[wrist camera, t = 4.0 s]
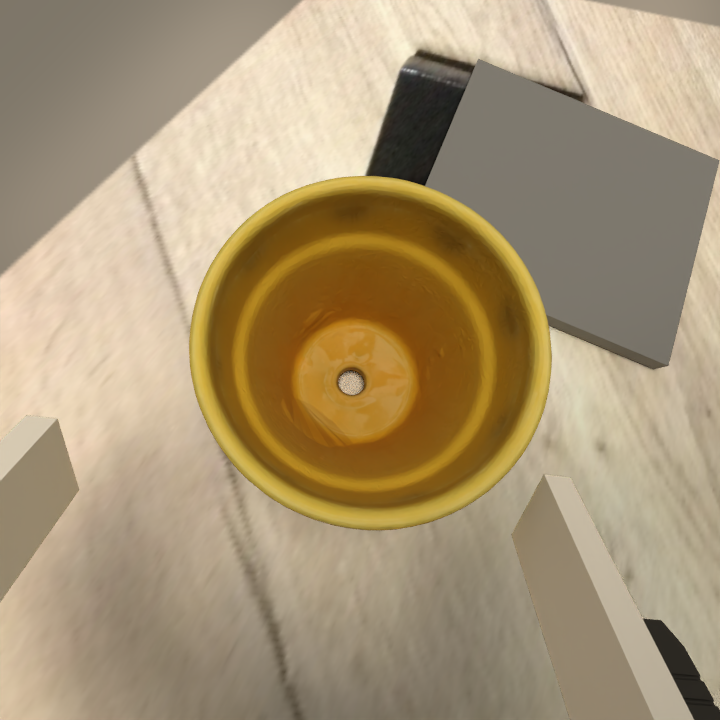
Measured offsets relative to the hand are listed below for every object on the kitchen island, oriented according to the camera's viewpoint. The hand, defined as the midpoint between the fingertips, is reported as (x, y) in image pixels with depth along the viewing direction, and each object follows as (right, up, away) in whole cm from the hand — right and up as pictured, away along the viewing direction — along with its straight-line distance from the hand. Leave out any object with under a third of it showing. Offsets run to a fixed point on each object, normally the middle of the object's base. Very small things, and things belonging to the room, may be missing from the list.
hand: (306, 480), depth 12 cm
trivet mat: (+13, +12, +12) cm, 21 cm away
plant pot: (+1, +2, +10) cm, 10 cm away
